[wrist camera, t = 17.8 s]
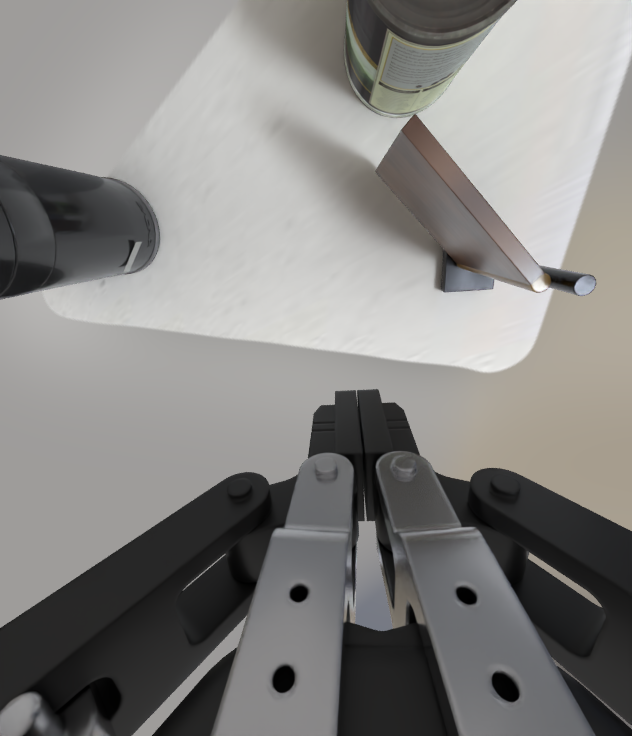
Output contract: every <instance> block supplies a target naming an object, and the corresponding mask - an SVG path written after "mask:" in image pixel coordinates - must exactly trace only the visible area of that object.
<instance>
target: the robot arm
mask: <svg viewBox="0 0 632 736" xmlns="http://www.w3.org/2000/svg"><path fill="white" fill-rule="evenodd" d="M159 242H160V232H159V226H158V222H157V219H156V216H155V214H154V212H153V210H152V208H151V206H150V205H149V203H148V202H147V200H146V199H145V198H144V197H143V196H142V195H141V194H140V193H139V192H138V191H137V190H136V189H134V188H133V187H132V186H130V185H128V184H126V183H125V182H122V181H120V180H116V179H112V178H106V177H97V176H93V175H89V174H85V173H80V172H76V171H71V170H66V169H62V168H57V167H53V166H48V165H43V164H38V163H34V162H29V161H25V160H20V159H16V158H11V157H7V156H2V155H0V299H5V298H10V297H15V296H19V295H24V294H28V293H32V292H37V291H42V290H47V289H52V288H57V287H62V286H67V285H72V284H77V283H81V282H86V281H91V280H96V279H101V278H106V277H112V276H116V275H121V274H131V273H135V272H138V271H141V270H143V269H144V268H146V267H147V266H148V265H149V264H150V263H151V262H152V261H153V259H154V258H155V256H156V254H157V251H158V248H159ZM357 397H358V406H357ZM357 397H356V391H355V390H353V391H352V390H351V391H335V405H321V406H320V407H319V408H318V409H317V410H316V412H315V413H314V416H313V425H312V432H311V439H310V447H309V454H308V459H307V460H305V461H304V462H303V463H302V465H301V467H300V469H299V473H298V475H296V476H295V477H293V478H291V479H288V480H286V481H283V482H279V483H275V484H271V485H269V483H268V481H267V480H266V478H264V477H263V476H262V475H260V474H257V473H252V472H245V473H239V474H235V475H233V476H230V477H228V478H226V479H225V480H223V481H221V482H220V483H218V484H217V485H216V486H214V487H212V488H211V489H210V490H208V491H206V492H205V493H203V494H202V495H200V496H199V497H197V498H196V499H194V500H193V501H191V502H190V503H188V504H187V505H185V506H184V507H182V508H181V509H179V510H178V511H176V512H175V513H173V514H172V515H170V516H169V517H167V518H166V519H164V520H163V521H161V522H160V523H158V524H157V525H155V526H154V527H152V528H151V529H149V530H148V531H146V532H145V533H143V534H142V535H141V536H139V537H137V538H136V539H134V540H133V541H131V542H130V543H128V544H127V545H125V546H123V547H122V548H120V549H119V550H118V551H116V552H115V553H113V554H111V555H110V556H108V557H107V558H106V559H104V560H102V561H101V562H99V563H98V564H96V565H95V566H93V567H92V568H90V569H89V570H87V571H86V572H84V573H83V574H81V575H80V576H78V577H77V578H75V579H74V580H72V581H71V582H69V583H68V584H66V585H65V586H63V587H62V588H60V589H59V590H57V591H56V592H54V593H53V594H51V595H50V596H48V597H47V598H45V599H44V600H42V601H41V602H39V603H38V604H36V605H35V606H33V607H32V608H30V609H29V610H27V611H25V612H24V613H22V614H21V615H19V616H18V617H16V618H15V619H14V620H12V621H11V622H9V623H7V624H6V625H4V626H3V627H1V628H0V736H131V735H133V734H134V733H135V732H136V731H137V730H138V728H139V727H140V726H141V725H142V724H143V723H144V722H145V721H146V720H147V719H148V718H149V717H150V716H151V715H152V714H153V713H154V712H155V711H156V710H157V709H158V708H159V707H160V705H161V704H162V703H163V702H164V701H165V700H166V699H167V698H168V697H169V696H170V695H171V694H172V693H173V692H174V691H175V690H176V689H177V687H179V686H180V685H181V684H182V682H183V681H184V680H185V679H186V678H187V677H188V676H189V675H190V674H191V673H192V672H193V671H194V670H195V669H196V668H197V667H198V666H199V665H200V663H202V662H203V660H204V659H205V658H206V657H207V656H208V655H209V654H210V653H211V652H212V651H213V650H214V649H215V648H216V647H217V646H218V645H219V644H220V643H221V642H222V641H223V640H224V639H225V637H226V636H227V635H228V634H229V633H230V632H231V631H232V630H233V629H234V628H235V627H236V626H237V625H238V624H239V623H240V622H241V621H242V620H243V619H244V618H245V617H246V616H247V618H246V621H245V625H244V628H243V631H242V634H241V638H240V641H239V645H238V647H237V648H235V649H234V650H233V651H231V652H230V653H229V654H227V655H226V656H225V657H223V658H222V659H221V660H220V661H219V662H218V663H217V664H216V665H215V666H214V667H212V668H211V669H210V670H209V672H208V673H207V674H206V675H205V676H204V677H203V678H202V679H201V680H200V681H199V683H198V684H197V685H196V686H195V687H194V689H192V691H191V692H190V693H189V694H188V695H187V696H186V697H185V699H184V700H183V701H182V702H181V703H180V704H179V706H178V707H177V708H176V709H175V710H174V711H173V712H172V713H171V714H170V716H169V717H168V718H167V719H166V720H165V721H164V722H163V724H162V725H161V726H160V727H159V728H158V729H157V730H156V732H155V733H154V734H153V735H152V736H632V729H631V728H630V727H628V726H627V725H626V724H625V723H624V722H623V721H622V720H621V719H620V718H619V717H617V716H616V715H615V714H614V713H613V712H612V711H610V709H608V708H607V707H606V706H605V705H604V704H603V703H602V702H601V701H600V700H598V699H597V698H596V697H595V696H594V695H593V694H592V693H591V692H590V691H588V690H587V689H586V688H585V687H584V686H583V685H581V684H580V683H579V682H578V681H577V680H575V679H574V678H573V677H571V676H570V675H569V674H567V673H566V672H565V671H563V670H562V669H561V668H559V667H558V666H556V664H555V663H554V661H553V659H552V658H554V659H555V660H556V661H557V662H558V663H559V664H560V665H562V666H563V667H564V668H565V669H566V670H567V671H569V672H570V673H571V674H572V675H573V676H574V677H576V678H577V679H578V680H579V681H580V682H582V683H583V684H584V685H585V686H586V687H587V688H589V689H590V690H591V691H592V692H593V693H594V694H595V695H597V696H598V697H599V698H600V699H601V700H602V701H604V702H605V703H606V704H607V705H608V706H609V707H611V708H612V709H613V710H614V711H615V712H616V713H618V714H619V715H620V716H621V717H623V719H625V720H626V721H627V722H628V723H629V724H631V725H632V531H630V530H628V529H626V528H624V527H622V526H620V525H618V524H616V523H614V522H612V521H610V520H608V519H606V518H604V517H602V516H600V515H598V514H596V513H594V512H592V511H590V510H588V509H586V508H584V507H582V506H580V505H578V504H577V503H575V502H573V501H571V500H569V499H566V498H565V497H563V496H561V495H558V494H557V493H555V492H553V491H551V490H549V489H547V488H545V487H543V486H541V485H539V484H537V483H535V482H533V481H531V480H529V479H527V478H525V477H523V476H521V475H519V474H517V473H514V472H511V471H509V470H505V469H498V468H487V469H482V470H479V471H477V472H475V473H474V474H473V476H472V477H471V480H470V482H469V481H464V480H459V479H454V478H450V477H446V476H443V475H441V474H438V473H436V472H435V471H434V470H433V468H432V466H431V464H430V463H429V462H428V461H427V460H426V459H425V458H423V457H421V456H420V454H419V451H418V448H417V445H416V443H415V440H414V437H413V434H412V432H411V429H410V426H409V424H408V421H407V418H406V415H405V413H404V410H403V409H402V408H401V407H399V406H398V405H397V404H396V403H382V402H381V398H380V394H379V390H378V389H373V390H358V391H357ZM364 496H365V505H366V516H367V521H375V524H376V533H377V534H376V535H377V536H376V538H377V551H378V556H379V561H380V566H381V570H382V575H383V581H384V585H385V590H386V595H387V600H388V605H389V609H390V614H391V619H392V626H393V629H391V630H388V631H377V630H373V629H369V628H367V627H363V626H360V625H357V624H355V603H356V565H357V541H358V536H359V525H358V521H364ZM529 552H530V553H532V554H533V555H535V556H536V557H538V558H539V559H541V560H542V561H544V562H545V563H547V564H548V565H550V566H551V567H553V568H554V569H556V570H557V571H559V572H560V573H562V574H563V575H565V576H566V577H568V578H569V579H571V580H572V581H574V582H575V583H577V584H578V585H580V586H581V587H583V588H584V589H586V590H587V591H588V592H590V593H591V594H592V595H593V596H594V597H595V598H596V599H597V600H598V602H599V603H600V604H601V606H602V607H603V608H602V607H599V606H597V605H595V604H594V603H592V602H591V601H589V600H588V599H586V598H585V597H583V596H582V595H580V594H579V593H577V592H576V591H575V590H573V589H572V588H570V587H569V586H567V585H566V584H564V583H563V582H561V581H560V580H558V579H557V578H555V577H554V576H552V575H551V574H550V573H548V572H547V571H545V570H544V569H542V568H541V567H539V566H538V565H537V564H535V563H534V562H532V561H530V560H529V559H528V555H529ZM224 554H226V555H225V556H223V557H222V558H221V559H220V560H219V561H218V562H216V563H215V564H214V565H213V566H212V567H211V568H209V569H208V570H207V571H206V572H205V573H203V574H202V575H201V576H200V577H199V578H197V579H196V580H195V581H194V582H193V583H192V584H190V585H189V586H188V587H187V588H186V589H185V590H183V589H184V588H185V587H186V586H187V585H188V584H189V583H190V582H191V581H193V580H194V579H195V578H196V577H198V576H199V575H200V574H201V573H202V572H203V571H205V570H206V569H207V568H208V567H209V566H210V565H212V564H213V563H214V562H215V561H217V560H218V559H219V558H220V557H221V556H222V555H224Z"/></svg>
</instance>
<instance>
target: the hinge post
mask: <svg viewBox="0 0 632 736" xmlns="http://www.w3.org/2000/svg"><path fill="white" fill-rule="evenodd" d="M540 268H541V269H542V270H543V271H544V272H545V273H546V274H548V275H549V276H550V278H551V284H550V286H549V288H553V289H557V290H561V291H564V292H568V293H571V294H575V295H578V296H585V295H587V294H589V293H591V292H592V291H593V290H594V288H595V286H596V279H595V278H594V276H592V275H589V274H583V273H578V272H572V271H567V270H561V269H556V268H550V267H545V266H540ZM493 285H494V279H492V278H489V277H486V276H483V275H480V274H477V273H474V272H471V271H468V270H464V269H461V268H459V267H458V266H457V263H456V262H455V261H454V260H453V259H452V258H451V257H450V256H449V254H448V253H447V252H446V251H445V250H444V253H443V268H442V283H441V291H443V292H456V291H471V290H486V289H493Z"/></svg>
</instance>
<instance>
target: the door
mask: <svg viewBox="0 0 632 736" xmlns="http://www.w3.org/2000/svg"><path fill="white" fill-rule="evenodd" d="M375 173H376V174H377V175H378V176H379V177H380V178H381V179H382V180H383V182H384V183H385V184H386V185H387V186H388V187H389V188H390V189H391V191H392V192H393V193H394V194H395V195H396V196H397V197H398V198H399V199H400V201H401V202H402V203H403V204H404V205H405V206H406V207H407V208H408V210H409V211H410V212H411V213H412V214H413V215H414V216H415V217H416V219H417V220H418V221H419V222H420V223H421V224H422V225H423V226H424V228H425V229H426V230H427V231H428V232H429V233H430V234H431V235H432V237H433V238H434V239H435V240H436V241H437V242H438V243H439V244H440V245H441V247H442V248H443V249H444V250H445V251H446V252H447V253H448V254H449V256H450V257H451V258H452V259H453V260H454V261H455V262H456V263H457V266H458V267H459V268H461V269H464V270H468V271H471V272H474V273H477V274H480V275H483V276H486V277H489V278H492V279H496V280H499V281H502V282H505V283H508V284H511V285H514V286H517V287H521V288H524V289H527V290H530V291H533V292H536V293H540V292H543V291H545V290H547V289H548V288H549V286H550V284H551V278H550V276H549V275H548V274H546V273H545V272H544V271H543V270H542V269H541V268H540V266H539V265H538V264H537V263H536V261H535V260H534V259H533V258H532V256H531V255H530V254H529V253H528V252H527V250H526V249H525V248H524V247H523V245H522V244H521V243H520V242H519V241H518V239H517V238H516V237H515V236H514V234H513V233H512V232H511V231H510V229H509V228H508V227H507V226H506V225H505V223H504V222H503V221H502V220H501V218H500V217H499V216H498V215H497V214H496V212H495V211H494V210H493V209H492V207H491V206H490V205H489V204H488V202H487V201H486V200H485V199H484V198H483V196H482V195H481V194H480V193H479V191H478V190H477V189H476V188H475V187H474V185H473V184H472V183H471V182H470V180H469V179H468V178H467V177H466V175H465V174H464V173H463V172H462V171H461V169H460V168H459V167H458V166H457V164H456V163H455V162H454V161H453V160H452V158H451V157H450V156H449V155H448V153H447V152H446V151H445V150H444V148H443V147H442V146H441V145H440V144H439V142H438V141H437V140H436V139H435V137H434V136H433V135H432V134H431V133H430V131H429V130H428V129H427V128H426V126H425V125H424V124H423V123H422V121H421V120H420V119H419V118H418V117H417V115H416V114H414V115H413V117H412V118H411V119H410V120H409V121H408V122H407V124H406V125H405V126H404V127H403V128H402V130H401V131H400V133H399V134H398V136H397V137H396V139H395V141H394V142H393V144H392V145H391V147H390V148H389V150H388V152H387V153H386V155H385V156H384V158H383V159H382V161H381V163H380V164H379V166H378V167H377V169H376V170H375Z"/></svg>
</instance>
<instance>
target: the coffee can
mask: <svg viewBox="0 0 632 736" xmlns="http://www.w3.org/2000/svg"><path fill="white" fill-rule="evenodd" d="M516 1H517V0H347V9H346V33H345V40H344V59H345V66H346V71H347V75H348V78H349V81H350V83H351V85H352V88H353V89H354V91H355V93H356V94H357V96H358V97H359V98H360V100H361V101H362V102H363V103H364V104H365V105H366V106H367V107H368V108H370V109H371V110H372V111H374V112H376V113H378V114H381V115H383V116H387V117H407V116H411V115H414V114H416V113H418V112H421V111H423V110H424V109H426V108H427V107H429V106H430V105H431V104H433V103H434V102H435V101H436V100H437V99H438V98H439V97H440V96H441V95H442V94H443V93H444V91H445V90H446V89H447V87H448V86H449V85H450V83H451V82H452V80H453V78H454V77H455V76H456V74H457V73H458V72H459V70H460V69H461V68H462V67H463V65H464V64H465V63H466V61H467V60H468V59H469V58H470V56H471V55H472V54H473V53H474V51H475V50H476V49H477V47H478V46H479V45H480V44H481V42H482V41H483V40H484V38H485V37H486V36H487V35H488V33H489V32H490V31H491V29H492V28H493V27H494V26H495V24H496V23H497V22H498V20H499V19H500V18H501V17H502V15H503V14H504V13H505V12H506V11H507V10H508V9H509V8H510V7H511V6H512V5H513V4H514V3H515V2H516Z"/></svg>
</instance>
